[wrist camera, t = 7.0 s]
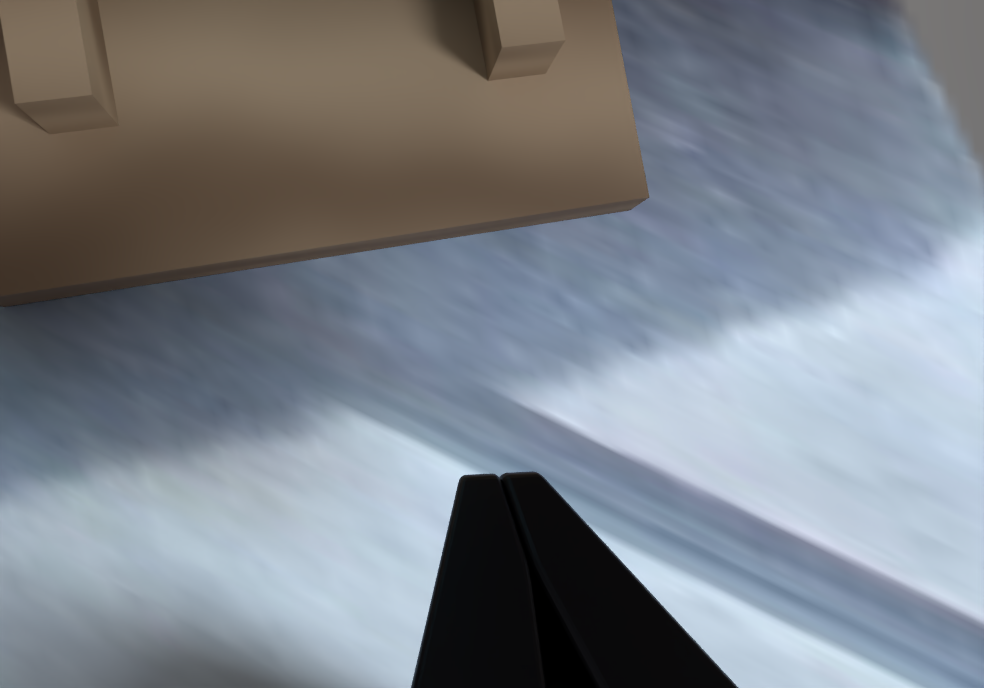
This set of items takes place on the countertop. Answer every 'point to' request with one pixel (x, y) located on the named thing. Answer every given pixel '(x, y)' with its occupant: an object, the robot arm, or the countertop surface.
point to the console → (295, 131)
